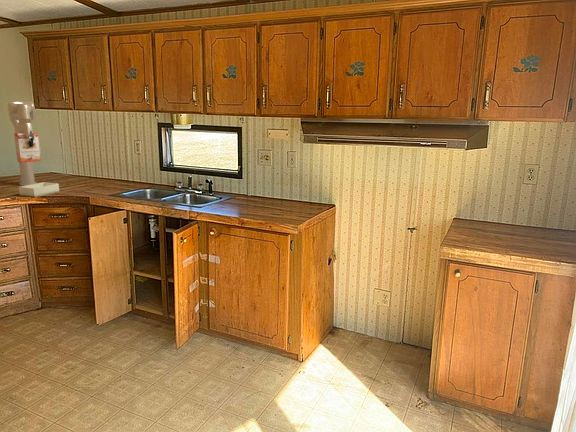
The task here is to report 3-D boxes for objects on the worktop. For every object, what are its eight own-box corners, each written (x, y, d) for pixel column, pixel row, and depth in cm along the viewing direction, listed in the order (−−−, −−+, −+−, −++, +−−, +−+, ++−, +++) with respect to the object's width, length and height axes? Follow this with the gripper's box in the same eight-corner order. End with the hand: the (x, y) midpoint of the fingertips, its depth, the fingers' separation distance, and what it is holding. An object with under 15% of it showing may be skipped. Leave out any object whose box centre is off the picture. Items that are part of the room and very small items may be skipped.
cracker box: (21, 162, 310) (17, 133, 305) (17, 162, 313) (13, 132, 308) (41, 161, 321) (37, 132, 316) (37, 160, 325) (33, 132, 320)
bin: (19, 195, 312) (18, 186, 310) (45, 189, 332) (44, 182, 331) (34, 196, 308) (33, 188, 306) (59, 191, 328) (58, 183, 326)
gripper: (10, 121, 310) (13, 146, 314) (29, 121, 304) (32, 147, 308) (20, 121, 317) (23, 145, 321) (38, 121, 311) (41, 146, 315)
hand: (27, 146), depth 315 cm, fingers closed on cracker box, 7 cm apart
